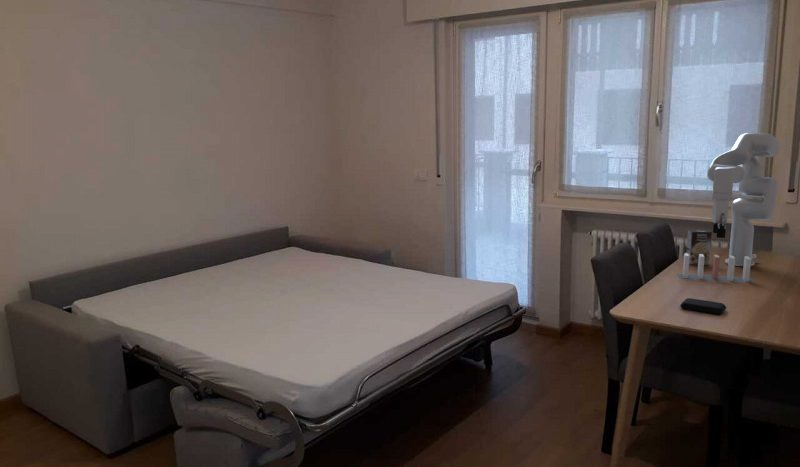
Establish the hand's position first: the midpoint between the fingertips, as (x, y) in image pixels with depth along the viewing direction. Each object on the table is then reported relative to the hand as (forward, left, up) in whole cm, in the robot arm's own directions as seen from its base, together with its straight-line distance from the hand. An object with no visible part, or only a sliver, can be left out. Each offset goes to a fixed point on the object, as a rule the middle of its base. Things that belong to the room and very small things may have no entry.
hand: (718, 235), depth 268 cm
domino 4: (-8, +9, -19) cm, 23 cm away
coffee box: (-18, -23, -20) cm, 35 cm away
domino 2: (+4, -4, -19) cm, 20 cm away
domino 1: (+9, -8, -19) cm, 23 cm away
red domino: (0, 0, -19) cm, 19 cm away
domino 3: (-4, +4, -19) cm, 20 cm away
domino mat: (0, 0, -20) cm, 20 cm away
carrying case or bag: (+40, +25, -20) cm, 52 cm away
